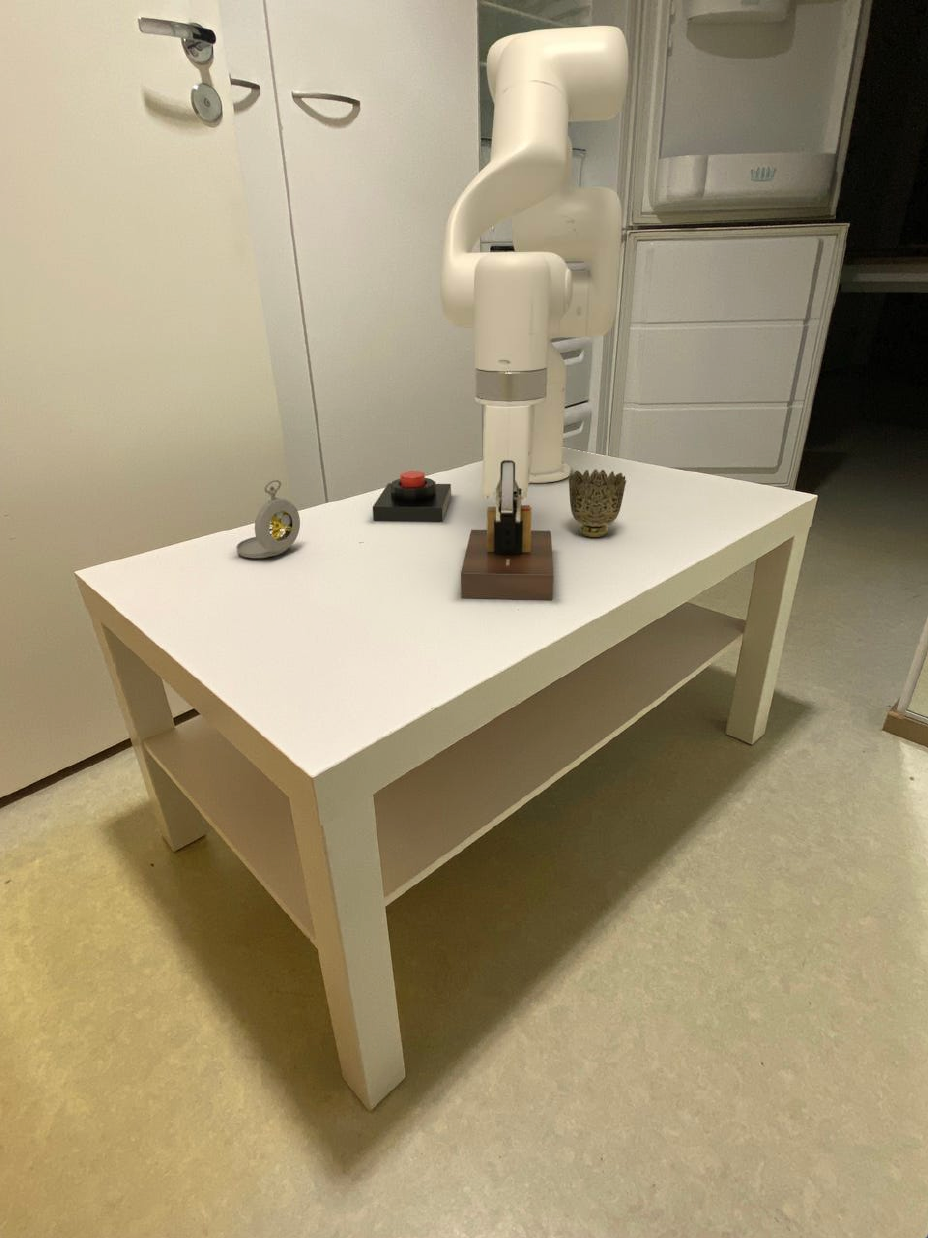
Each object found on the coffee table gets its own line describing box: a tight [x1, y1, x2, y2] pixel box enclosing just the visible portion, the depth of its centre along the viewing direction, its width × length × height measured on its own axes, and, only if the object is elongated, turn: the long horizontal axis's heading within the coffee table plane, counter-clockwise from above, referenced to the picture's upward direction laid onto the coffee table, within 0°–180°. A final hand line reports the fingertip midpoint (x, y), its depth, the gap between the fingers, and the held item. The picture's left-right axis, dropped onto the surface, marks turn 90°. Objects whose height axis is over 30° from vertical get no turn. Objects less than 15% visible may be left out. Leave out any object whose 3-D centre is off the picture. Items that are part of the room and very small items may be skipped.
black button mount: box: [372, 477, 452, 523], centre depth 105 cm, size 12×10×4 cm
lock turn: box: [486, 504, 533, 553], centre depth 81 cm, size 5×2×5 cm, turn 84°
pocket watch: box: [235, 479, 301, 559], centre depth 88 cm, size 8×8×10 cm
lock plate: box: [460, 529, 554, 601], centre depth 83 cm, size 14×10×3 cm
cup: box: [568, 469, 627, 538], centre depth 93 cm, size 8×7×8 cm
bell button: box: [399, 470, 426, 487], centre depth 104 cm, size 4×4×2 cm
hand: (508, 549), depth 82 cm, fingers closed
